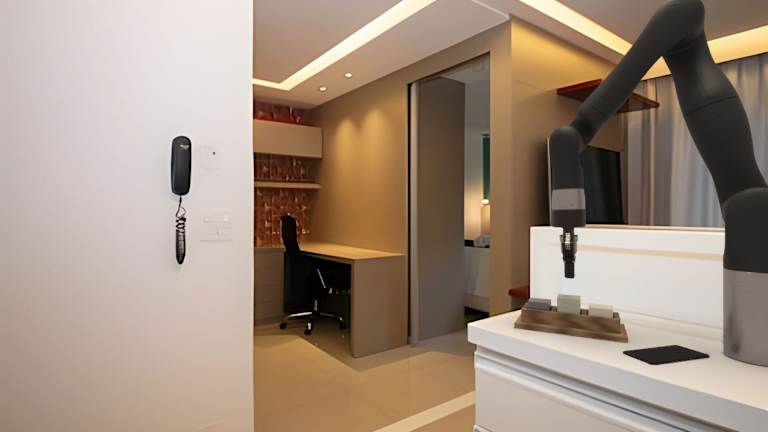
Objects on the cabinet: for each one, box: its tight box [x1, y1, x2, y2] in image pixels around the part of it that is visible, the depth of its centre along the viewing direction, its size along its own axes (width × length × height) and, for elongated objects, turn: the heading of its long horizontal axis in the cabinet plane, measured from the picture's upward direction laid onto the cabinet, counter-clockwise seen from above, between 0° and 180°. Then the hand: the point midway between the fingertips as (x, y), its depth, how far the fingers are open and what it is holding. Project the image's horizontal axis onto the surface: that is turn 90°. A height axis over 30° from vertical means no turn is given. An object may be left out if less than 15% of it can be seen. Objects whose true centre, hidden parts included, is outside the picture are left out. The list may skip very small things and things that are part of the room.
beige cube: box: [587, 302, 614, 318], centre depth 92 cm, size 5×5×5 cm
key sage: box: [556, 293, 582, 315], centre depth 95 cm, size 5×5×5 cm
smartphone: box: [622, 344, 710, 366], centre depth 77 cm, size 7×1×15 cm
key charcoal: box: [527, 297, 552, 311], centre depth 99 cm, size 5×5×5 cm
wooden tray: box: [513, 302, 629, 344], centre depth 95 cm, size 24×12×4 cm, turn 61°
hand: (569, 277), depth 95 cm, fingers closed
